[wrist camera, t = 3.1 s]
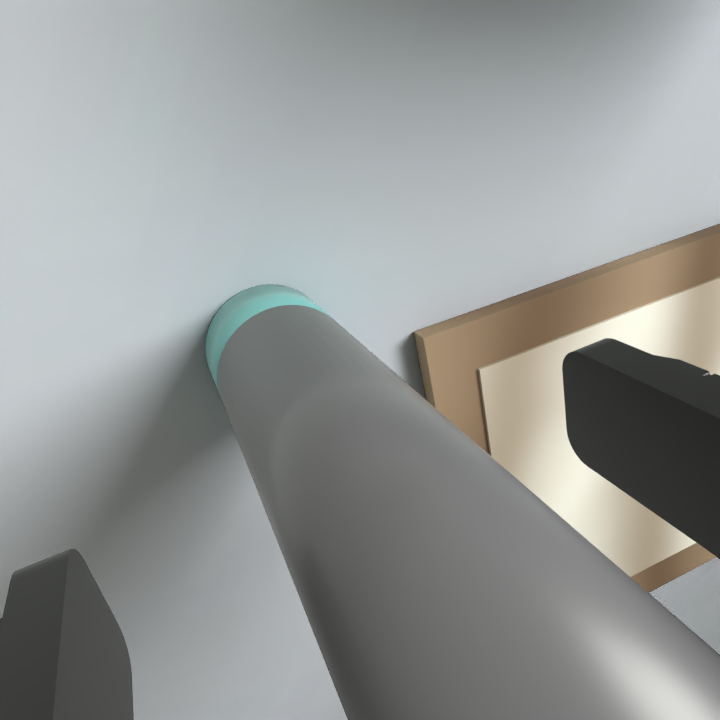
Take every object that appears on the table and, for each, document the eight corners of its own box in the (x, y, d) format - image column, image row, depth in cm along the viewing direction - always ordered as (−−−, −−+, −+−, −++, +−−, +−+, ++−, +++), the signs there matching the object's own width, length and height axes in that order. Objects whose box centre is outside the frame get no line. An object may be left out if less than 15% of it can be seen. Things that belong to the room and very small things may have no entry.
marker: (312, 268, 15) (884, 671, 4) (339, 378, 17) (824, 916, 5) (187, 307, 14) (450, 948, 3) (227, 419, 16) (511, 1154, 4)
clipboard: (867, 171, 21) (919, 174, 20) (821, 487, 27) (859, 506, 26) (413, 331, 17) (440, 349, 16) (475, 667, 23) (499, 702, 21)
